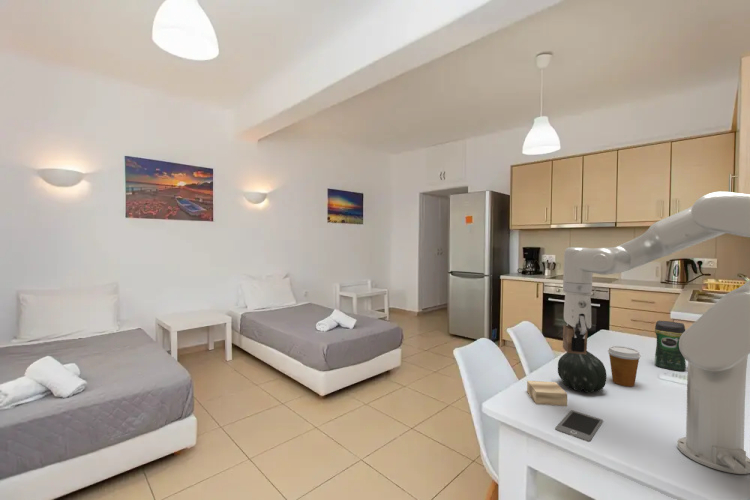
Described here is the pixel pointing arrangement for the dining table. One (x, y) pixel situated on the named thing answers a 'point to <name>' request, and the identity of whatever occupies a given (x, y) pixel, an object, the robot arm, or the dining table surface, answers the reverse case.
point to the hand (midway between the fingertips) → (574, 347)
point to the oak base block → (547, 393)
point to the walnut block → (568, 340)
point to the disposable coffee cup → (624, 365)
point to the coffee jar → (669, 345)
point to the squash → (582, 372)
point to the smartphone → (579, 425)
